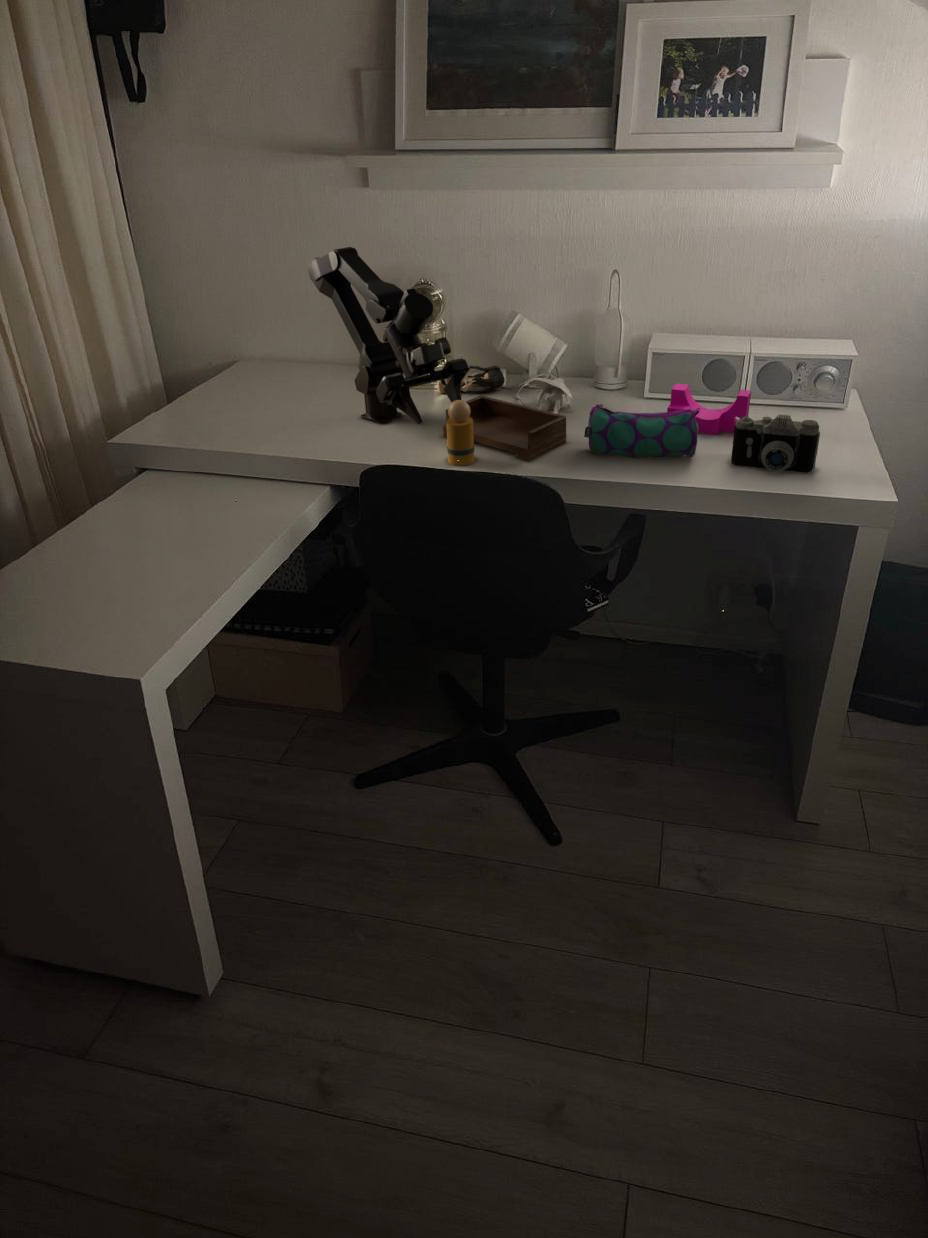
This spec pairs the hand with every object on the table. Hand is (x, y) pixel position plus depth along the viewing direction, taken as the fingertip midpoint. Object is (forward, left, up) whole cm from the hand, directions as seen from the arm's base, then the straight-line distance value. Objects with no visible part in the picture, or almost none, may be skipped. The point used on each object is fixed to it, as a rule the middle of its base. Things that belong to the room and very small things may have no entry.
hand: (441, 418), depth 188 cm
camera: (+55, +29, -7) cm, 62 cm away
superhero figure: (+3, +31, -7) cm, 32 cm away
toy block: (+35, +40, -7) cm, 54 cm away
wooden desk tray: (+6, +11, -7) cm, 15 cm away
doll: (+6, -2, -7) cm, 9 cm away
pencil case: (+32, +21, -7) cm, 39 cm away
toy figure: (-19, +30, -7) cm, 36 cm away
